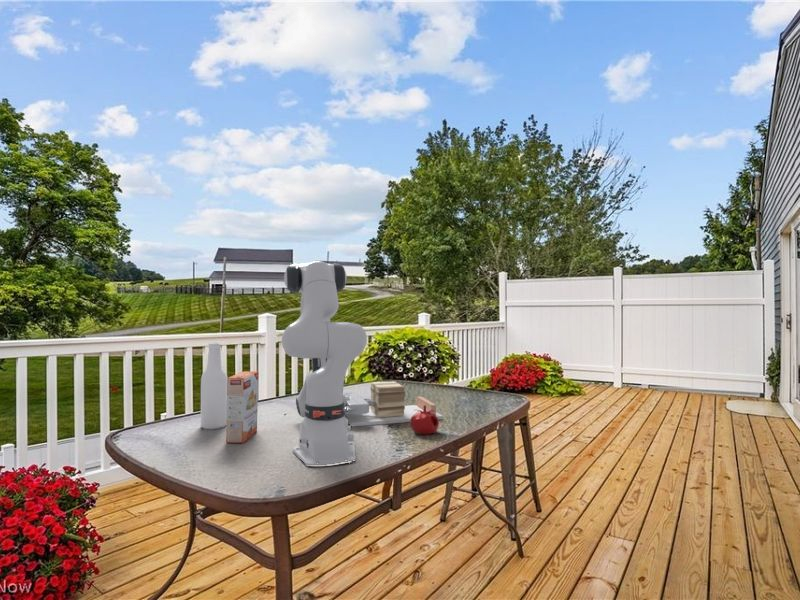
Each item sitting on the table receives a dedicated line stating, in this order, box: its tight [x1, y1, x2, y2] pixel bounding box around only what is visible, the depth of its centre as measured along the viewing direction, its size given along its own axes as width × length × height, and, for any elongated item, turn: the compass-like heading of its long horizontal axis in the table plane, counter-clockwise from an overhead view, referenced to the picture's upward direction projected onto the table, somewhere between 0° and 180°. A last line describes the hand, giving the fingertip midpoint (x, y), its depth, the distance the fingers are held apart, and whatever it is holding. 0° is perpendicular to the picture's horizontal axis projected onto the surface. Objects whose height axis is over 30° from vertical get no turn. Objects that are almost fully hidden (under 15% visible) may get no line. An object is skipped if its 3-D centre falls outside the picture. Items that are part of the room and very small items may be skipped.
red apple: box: [409, 405, 440, 435], centre depth 159 cm, size 10×10×9 cm
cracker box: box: [225, 371, 259, 444], centre depth 152 cm, size 14×6×21 cm, turn 179°
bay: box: [344, 395, 444, 427], centre depth 180 cm, size 20×36×5 cm, turn 108°
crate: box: [370, 380, 406, 417], centre depth 180 cm, size 12×10×11 cm
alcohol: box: [200, 341, 228, 430], centre depth 164 cm, size 9×9×30 cm
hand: (374, 401), depth 178 cm, fingers closed, pressing on crate
